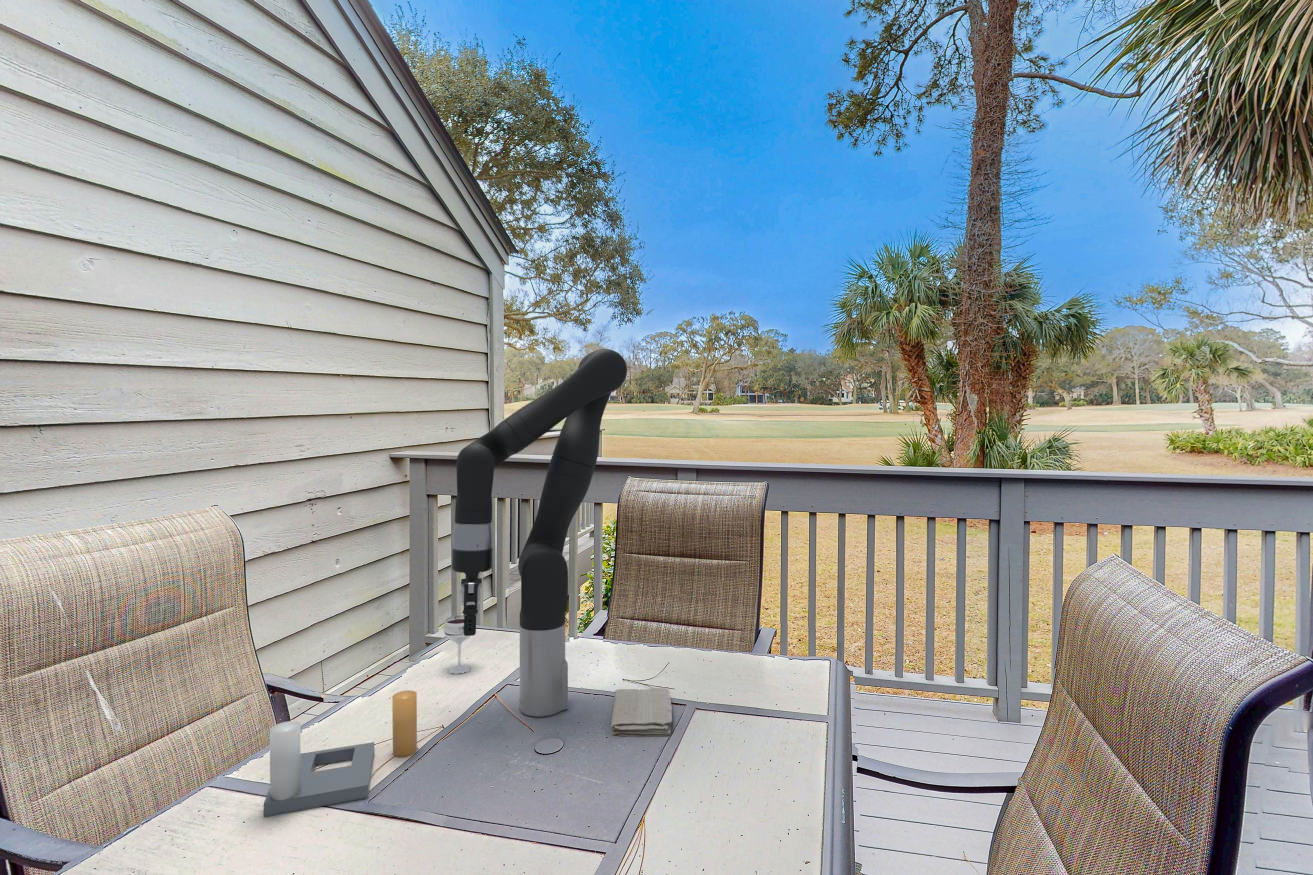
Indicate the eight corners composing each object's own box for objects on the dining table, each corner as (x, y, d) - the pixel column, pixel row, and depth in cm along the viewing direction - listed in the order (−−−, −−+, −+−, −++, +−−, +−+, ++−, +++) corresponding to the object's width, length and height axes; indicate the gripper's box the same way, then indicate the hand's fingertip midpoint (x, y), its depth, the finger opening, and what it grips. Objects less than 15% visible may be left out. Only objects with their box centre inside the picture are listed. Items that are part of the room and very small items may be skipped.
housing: (374, 753, 111) (374, 685, 111) (367, 797, 98) (367, 720, 98) (283, 767, 106) (282, 697, 106) (263, 816, 93) (262, 736, 93)
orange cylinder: (417, 743, 114) (416, 689, 114) (416, 754, 111) (416, 698, 110) (393, 747, 113) (392, 692, 113) (392, 758, 109) (391, 701, 109)
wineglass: (461, 677, 144) (461, 625, 144) (437, 673, 146) (437, 621, 146) (480, 666, 150) (480, 616, 150) (456, 662, 153) (456, 613, 152)
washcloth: (610, 740, 117) (610, 723, 117) (613, 698, 135) (613, 683, 135) (674, 739, 117) (674, 722, 117) (668, 697, 135) (668, 682, 135)
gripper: (493, 551, 118) (490, 638, 117) (491, 540, 131) (489, 618, 131) (450, 552, 116) (448, 640, 115) (454, 540, 129) (451, 620, 129)
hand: (470, 628), depth 123 cm, fingers open, 8 cm apart
